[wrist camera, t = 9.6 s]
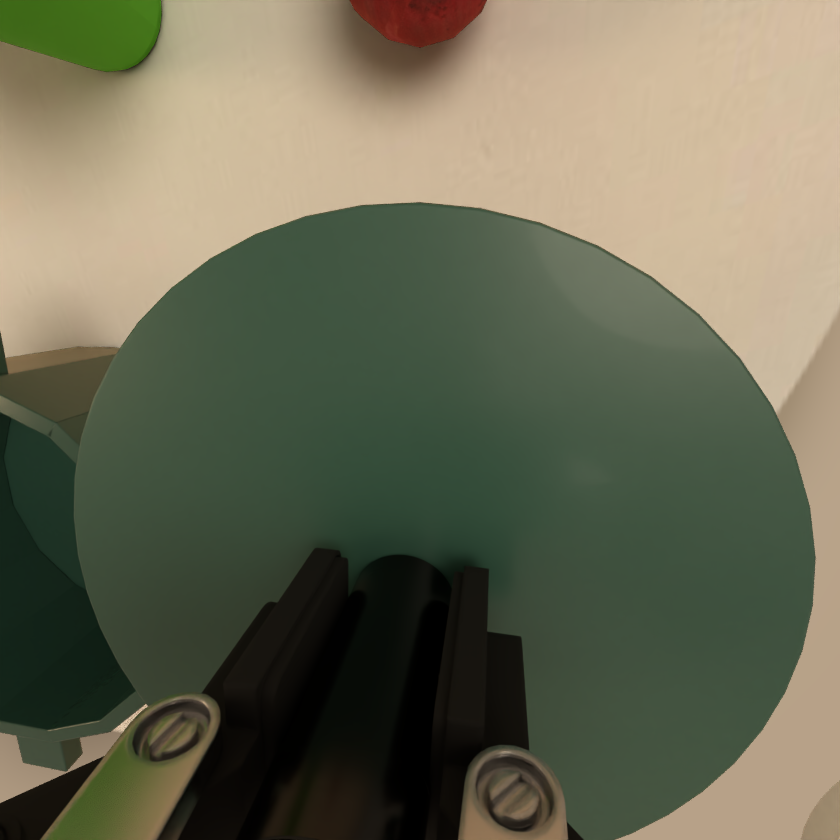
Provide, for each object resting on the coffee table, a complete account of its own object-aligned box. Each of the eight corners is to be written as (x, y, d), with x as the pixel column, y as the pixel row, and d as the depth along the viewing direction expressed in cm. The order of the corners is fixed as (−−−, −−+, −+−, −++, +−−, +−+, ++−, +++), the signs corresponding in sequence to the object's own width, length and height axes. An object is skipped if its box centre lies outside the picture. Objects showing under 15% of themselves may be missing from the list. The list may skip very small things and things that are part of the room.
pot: (259, 301, 23) (134, 312, 15) (277, 670, 30) (194, 816, 22) (-33, 286, 26) (-277, 288, 18) (39, 631, 32) (-117, 751, 24)
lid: (887, 222, 9) (2115, 42, 2) (698, 869, 14) (895, 1443, 7) (61, 200, 11) (-609, 79, 4) (147, 764, 16) (-111, 1120, 9)
